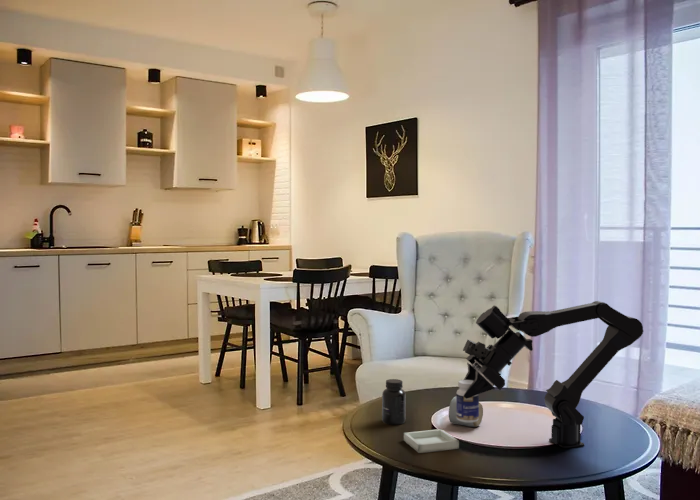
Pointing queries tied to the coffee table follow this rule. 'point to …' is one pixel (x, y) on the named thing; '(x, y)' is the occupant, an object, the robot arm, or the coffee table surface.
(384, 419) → the supplement bottle
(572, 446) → the robot arm
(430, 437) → the tray
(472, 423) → the ceramic mug
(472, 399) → the pill bottle
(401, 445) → the coffee table surface
